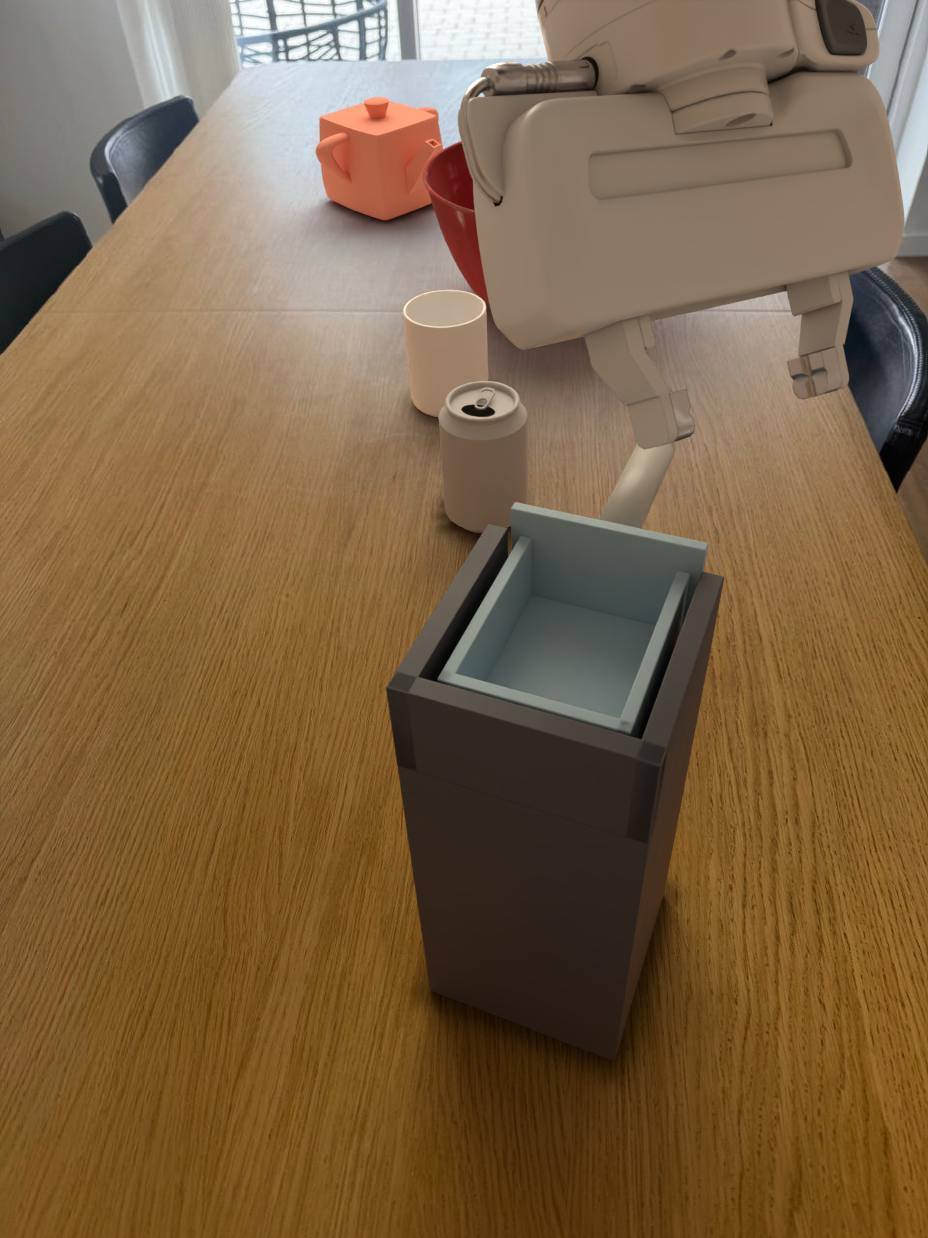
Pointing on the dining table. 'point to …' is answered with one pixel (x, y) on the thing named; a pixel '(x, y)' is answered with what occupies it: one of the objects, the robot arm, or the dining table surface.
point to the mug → (444, 345)
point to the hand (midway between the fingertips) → (750, 417)
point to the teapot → (378, 156)
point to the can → (483, 454)
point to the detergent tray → (584, 608)
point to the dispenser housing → (539, 826)
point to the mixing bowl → (456, 212)
